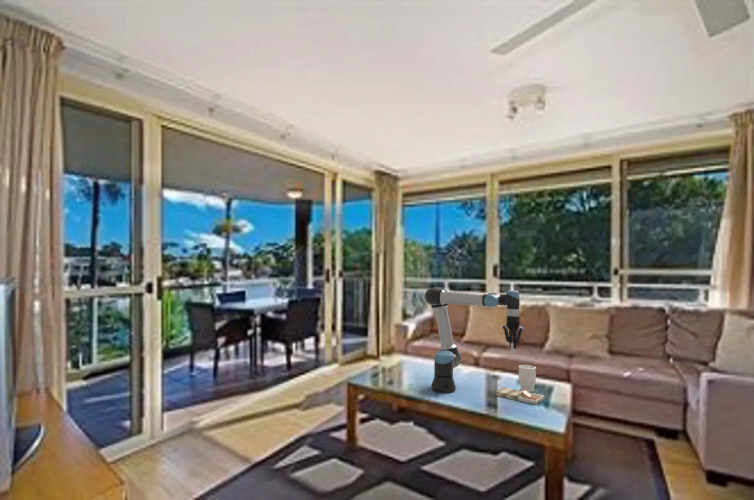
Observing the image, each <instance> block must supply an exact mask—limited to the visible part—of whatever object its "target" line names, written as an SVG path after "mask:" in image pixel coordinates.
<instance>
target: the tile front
mask: <svg viewBox="0 0 754 500" xmlns="http://www.w3.org/2000/svg"><path fill="white" fill-rule="evenodd" d="M538 398H540V397H539V396H534V395H531V396H530V397H529V399H531V400H537V399H538Z"/></svg>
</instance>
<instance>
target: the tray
mask: <svg viewBox="0 0 754 500" xmlns="http://www.w3.org/2000/svg"><path fill="white" fill-rule="evenodd" d="M528 393H529V394H531V395H534V396H539V397H540V398H538V399H537V400H531V399H526V398H525V397H524V396H522V395H521V396H519V397H518V400H517V402H520V403H525V404H530V405H536V406H537V405H539V404H540V403H541V402H543V401H544V400H545V399H546V396H545V395H544V394H538V393H535V392H528Z"/></svg>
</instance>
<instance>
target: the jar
mask: <svg viewBox="0 0 754 500" xmlns="http://www.w3.org/2000/svg"><path fill="white" fill-rule="evenodd" d="M518 368H519V370H518V381H519V382H518V383H519V385H520V389H519V390H520V391H525V390H526V391H527V392H530V393H534V392H535V389H534V388H535V385H536V382H537V372H536V370H537V368H536V366H535V365H529V364H521V365H519V366H518Z"/></svg>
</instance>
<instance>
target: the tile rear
mask: <svg viewBox="0 0 754 500" xmlns="http://www.w3.org/2000/svg"><path fill="white" fill-rule="evenodd" d="M521 395H522V396H524V397H525V398H526V399H529V397H530V396H531V394H529V393H528V392H527V391H526V390H525V391H523V392H522V393H521Z"/></svg>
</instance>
